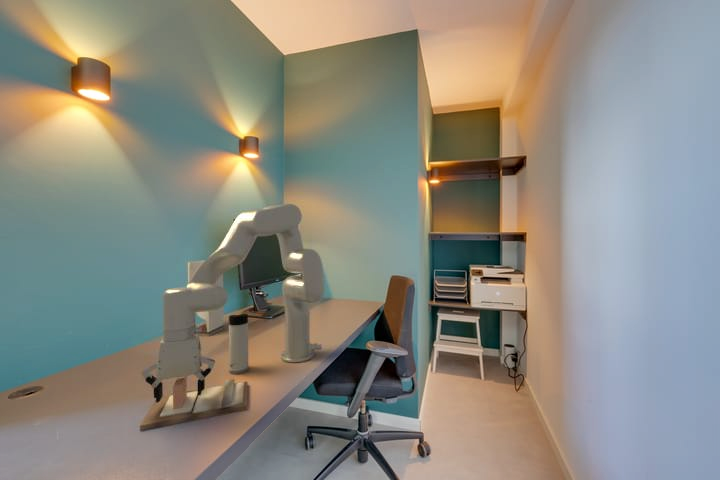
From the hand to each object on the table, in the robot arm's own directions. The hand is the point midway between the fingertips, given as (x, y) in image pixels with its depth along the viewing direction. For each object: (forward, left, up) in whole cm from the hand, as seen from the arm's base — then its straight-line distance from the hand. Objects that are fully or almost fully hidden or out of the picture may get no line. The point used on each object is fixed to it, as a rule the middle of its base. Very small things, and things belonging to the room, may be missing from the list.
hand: (180, 396), depth 79 cm
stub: (0, 0, -2) cm, 2 cm away
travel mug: (-14, -19, -4) cm, 24 cm away
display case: (+3, -70, -4) cm, 70 cm away
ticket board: (-5, 0, -3) cm, 6 cm away
